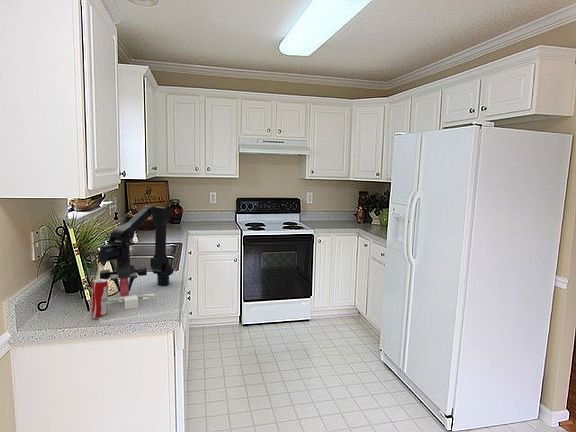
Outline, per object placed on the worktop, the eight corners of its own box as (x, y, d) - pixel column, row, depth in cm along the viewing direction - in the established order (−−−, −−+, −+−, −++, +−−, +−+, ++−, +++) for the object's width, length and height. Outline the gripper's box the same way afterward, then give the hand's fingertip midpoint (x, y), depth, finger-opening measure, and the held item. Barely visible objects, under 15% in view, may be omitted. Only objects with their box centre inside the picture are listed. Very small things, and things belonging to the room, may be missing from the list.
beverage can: (89, 315, 153) (87, 279, 151) (107, 312, 157) (105, 277, 155) (92, 320, 149) (90, 283, 147) (110, 317, 153) (109, 280, 150)
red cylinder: (120, 293, 170) (120, 275, 169) (129, 293, 171) (128, 275, 170) (119, 296, 167) (118, 278, 166) (128, 296, 168) (127, 277, 167)
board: (106, 301, 169) (105, 299, 169) (153, 295, 177) (153, 293, 177) (105, 306, 164) (105, 303, 164) (155, 299, 172) (155, 297, 172)
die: (124, 307, 163) (124, 296, 162) (137, 306, 165) (136, 294, 164) (125, 312, 158) (125, 300, 157) (138, 310, 160) (138, 298, 160)
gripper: (98, 263, 156) (100, 300, 158) (147, 259, 163) (148, 294, 166) (99, 257, 166) (101, 292, 168) (145, 253, 173) (146, 286, 176)
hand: (124, 291), depth 169 cm, fingers closed on red cylinder, 4 cm apart
